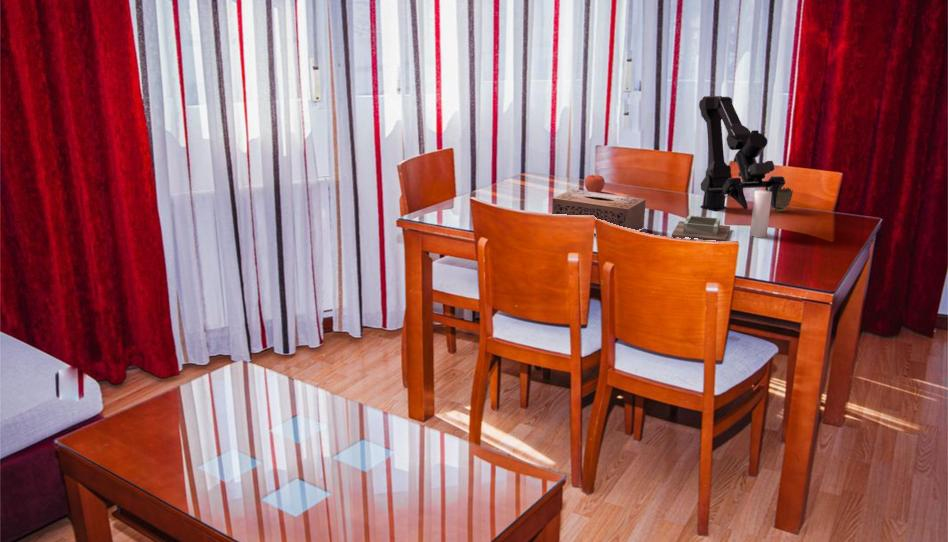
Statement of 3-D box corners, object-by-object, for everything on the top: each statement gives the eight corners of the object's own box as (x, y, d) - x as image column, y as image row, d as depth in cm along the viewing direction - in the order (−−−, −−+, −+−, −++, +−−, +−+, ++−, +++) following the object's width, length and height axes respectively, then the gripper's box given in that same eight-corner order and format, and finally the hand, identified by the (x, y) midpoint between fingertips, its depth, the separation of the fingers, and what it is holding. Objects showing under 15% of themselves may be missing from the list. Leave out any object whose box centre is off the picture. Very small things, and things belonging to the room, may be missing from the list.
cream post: (746, 235, 264) (751, 191, 259) (756, 232, 267) (760, 189, 262) (760, 238, 260) (765, 194, 255) (769, 235, 263) (775, 192, 258)
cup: (793, 214, 287) (796, 191, 285) (771, 214, 287) (774, 191, 285) (786, 208, 294) (788, 186, 292) (764, 208, 294) (767, 186, 292)
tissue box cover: (643, 229, 271) (645, 199, 268) (626, 240, 259) (628, 209, 256) (571, 218, 284) (572, 189, 280) (551, 228, 272) (552, 198, 269)
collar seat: (679, 224, 275) (680, 212, 274) (729, 229, 269) (731, 217, 268) (671, 237, 261) (672, 224, 260) (724, 243, 255) (726, 230, 254)
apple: (592, 190, 320) (593, 169, 318) (608, 193, 315) (609, 172, 312) (580, 193, 315) (581, 172, 313) (595, 196, 310) (596, 175, 308)
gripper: (729, 152, 259) (742, 195, 253) (786, 150, 262) (800, 193, 255) (716, 172, 269) (728, 214, 262) (771, 170, 272) (784, 212, 265)
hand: (760, 208), depth 261 cm, fingers open, 9 cm apart
